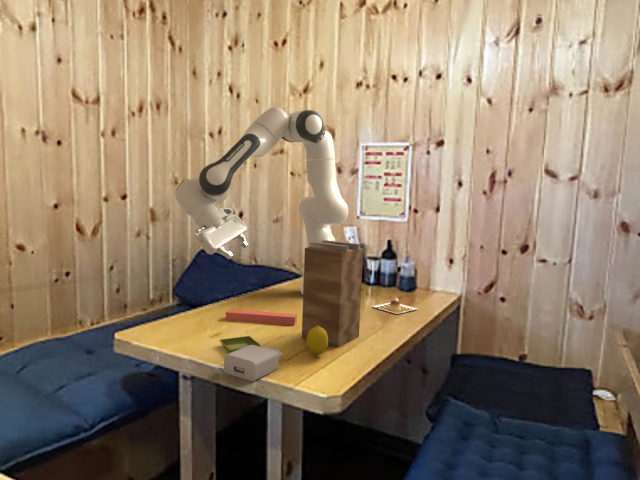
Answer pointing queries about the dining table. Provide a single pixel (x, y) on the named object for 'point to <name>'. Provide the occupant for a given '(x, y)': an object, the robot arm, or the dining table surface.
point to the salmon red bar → (261, 317)
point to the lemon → (317, 340)
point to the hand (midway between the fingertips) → (239, 252)
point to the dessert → (395, 306)
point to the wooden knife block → (332, 290)
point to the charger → (252, 362)
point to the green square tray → (238, 343)
